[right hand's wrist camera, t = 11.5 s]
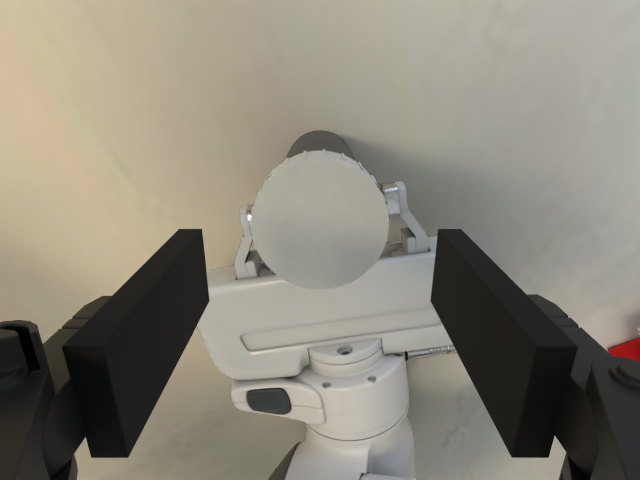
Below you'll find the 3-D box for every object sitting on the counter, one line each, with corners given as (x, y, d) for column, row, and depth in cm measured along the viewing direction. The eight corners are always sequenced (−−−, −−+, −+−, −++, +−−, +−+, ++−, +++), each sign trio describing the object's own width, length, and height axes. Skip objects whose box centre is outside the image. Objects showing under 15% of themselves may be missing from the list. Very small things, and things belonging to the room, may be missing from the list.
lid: (275, 281, 21) (270, 302, 19) (241, 165, 19) (231, 174, 17) (392, 257, 21) (400, 276, 18) (370, 135, 18) (377, 141, 16)
